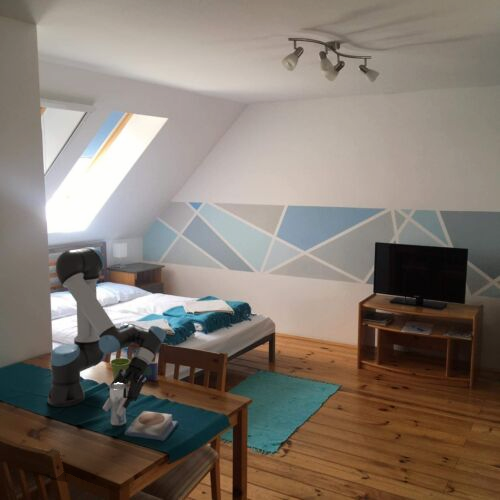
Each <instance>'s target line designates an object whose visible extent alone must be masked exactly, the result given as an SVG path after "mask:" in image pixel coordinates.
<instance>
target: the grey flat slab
mask: <svg viewBox="0 0 500 500" xmlns="http://www.w3.org/2000/svg"><path fill="white" fill-rule="evenodd" d="M178 423H179V421H177V420H172V422H171V424H170V425H169V426H168V427H167V428H166V430H165V431H164V432H163V433H162V434H161V435H160V436H159V435H152V434H145V433H137V432H131V425H130V426H129V427H128V428H127V429H125V431H124V436H129V437H135V438H136V437H138V438H141V439H142V438H143V439H148V440H149V439H150V440H158V441H162V442H163V441H165V440H166V439H167V438H168V437H169V436H170V434H171V433H172V432H173V431H174V429H176V427H177V426H178Z"/></svg>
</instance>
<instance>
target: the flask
mask: <svg viewBox="0 0 500 500" xmlns="http://www.w3.org/2000/svg"><path fill="white" fill-rule="evenodd" d="M158 364H159V363H158V361H151V363H150V364H149V367H148V368H147V370H146V372H145V373H143V376H144V377H146V378H147V381H149V382H157V381H158V372H159V371H158V367H159V366H158Z"/></svg>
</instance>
